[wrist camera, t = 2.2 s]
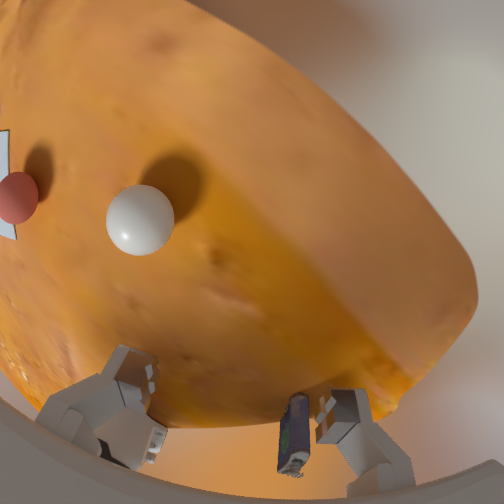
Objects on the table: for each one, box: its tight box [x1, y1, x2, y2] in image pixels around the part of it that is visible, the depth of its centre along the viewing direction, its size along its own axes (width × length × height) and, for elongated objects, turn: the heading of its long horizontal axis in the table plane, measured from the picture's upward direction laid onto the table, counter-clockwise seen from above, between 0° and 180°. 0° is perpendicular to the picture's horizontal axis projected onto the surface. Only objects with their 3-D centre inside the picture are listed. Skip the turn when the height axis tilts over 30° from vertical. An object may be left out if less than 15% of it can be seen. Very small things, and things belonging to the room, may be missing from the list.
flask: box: [277, 393, 310, 478], centre depth 29 cm, size 9×3×11 cm, turn 172°
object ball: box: [0, 172, 39, 224], centre depth 20 cm, size 6×6×6 cm
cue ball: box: [106, 185, 174, 255], centre depth 20 cm, size 6×6×6 cm
